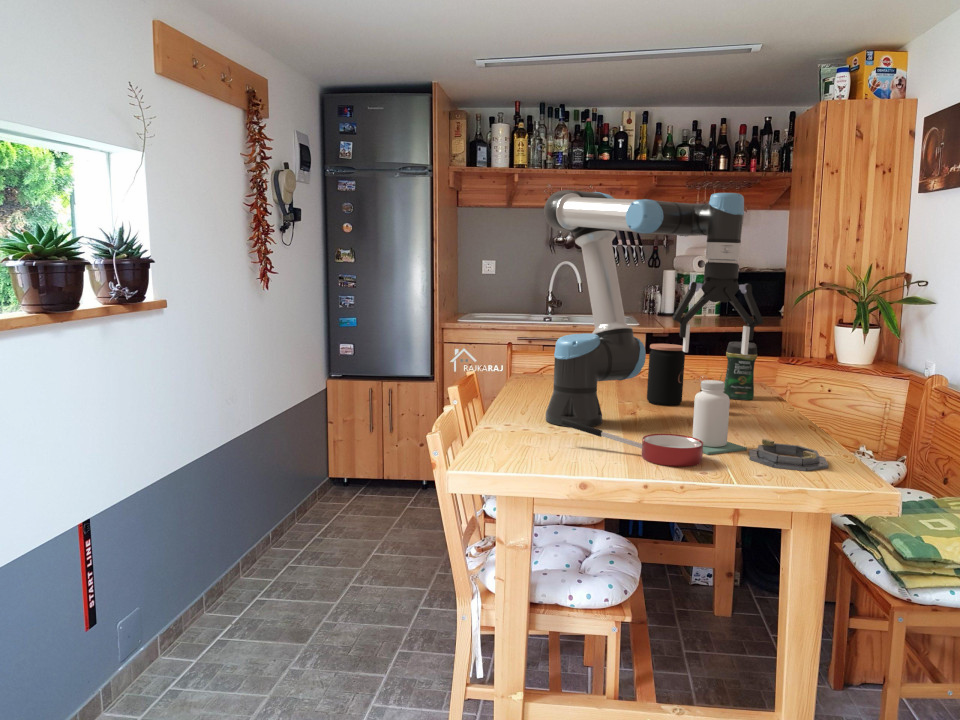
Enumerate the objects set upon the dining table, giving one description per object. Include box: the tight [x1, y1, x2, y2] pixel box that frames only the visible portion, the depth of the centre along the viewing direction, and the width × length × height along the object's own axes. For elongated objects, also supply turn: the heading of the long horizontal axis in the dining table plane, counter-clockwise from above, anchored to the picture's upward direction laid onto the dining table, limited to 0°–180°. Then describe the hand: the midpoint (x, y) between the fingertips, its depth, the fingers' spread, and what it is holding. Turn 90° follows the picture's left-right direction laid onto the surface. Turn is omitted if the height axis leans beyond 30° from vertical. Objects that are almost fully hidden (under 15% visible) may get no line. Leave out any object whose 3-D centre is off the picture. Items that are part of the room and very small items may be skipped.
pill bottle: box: [692, 379, 731, 447], centre depth 174 cm, size 8×8×15 cm
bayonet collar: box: [748, 438, 829, 472], centre depth 164 cm, size 16×16×3 cm
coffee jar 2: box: [723, 341, 758, 401], centre depth 239 cm, size 10×8×19 cm
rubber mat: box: [703, 441, 748, 456], centre depth 175 cm, size 12×12×1 cm
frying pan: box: [562, 419, 704, 468], centre depth 165 cm, size 32×13×6 cm, turn 70°
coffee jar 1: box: [646, 343, 686, 407], centre depth 227 cm, size 11×11×18 cm
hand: (714, 353), depth 172 cm, fingers open, 13 cm apart
